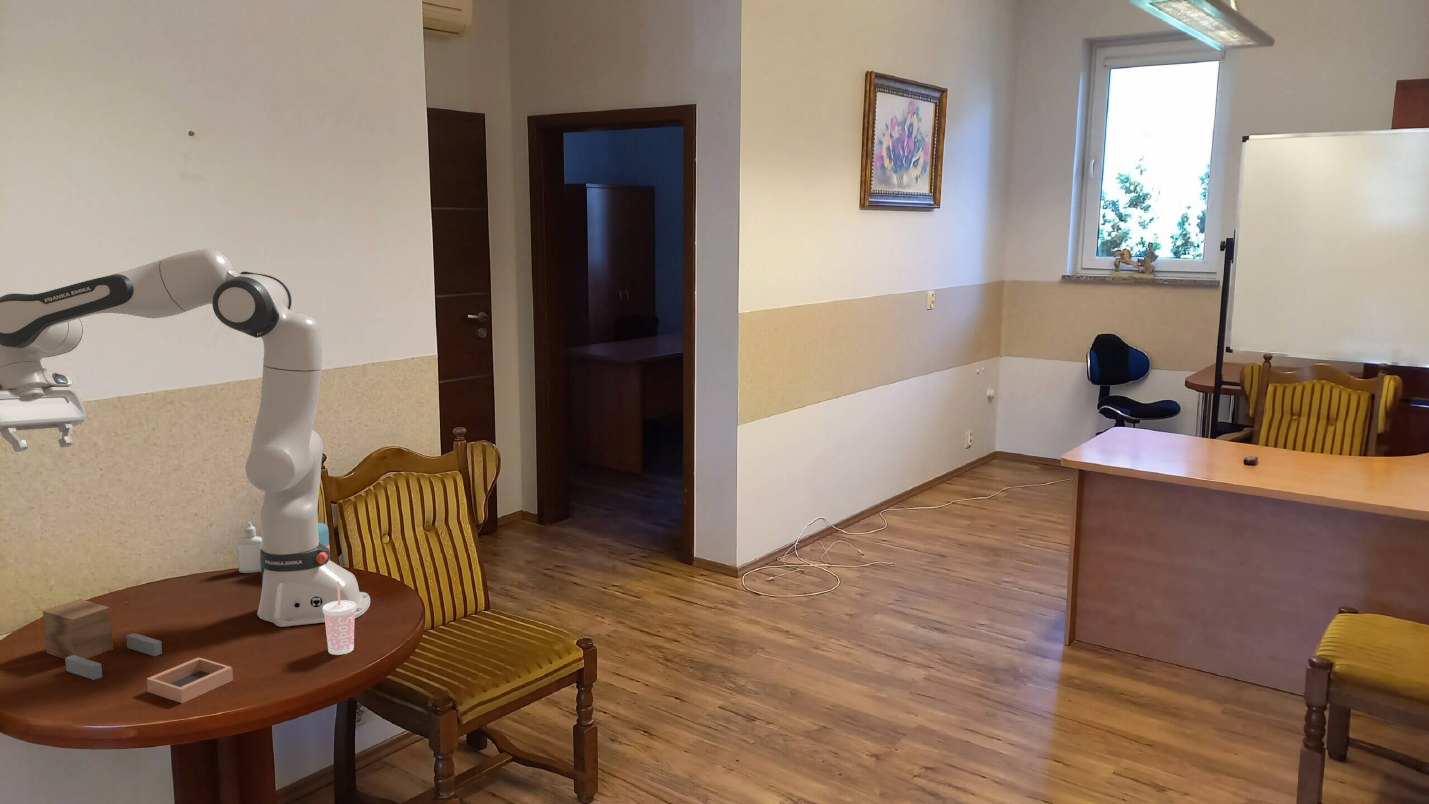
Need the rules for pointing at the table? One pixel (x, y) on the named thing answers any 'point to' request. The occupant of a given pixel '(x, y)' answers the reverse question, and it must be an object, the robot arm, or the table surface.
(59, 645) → the walnut block
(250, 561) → the eye dropper bottle
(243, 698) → the table surface
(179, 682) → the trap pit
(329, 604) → the beverage cup
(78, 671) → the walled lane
